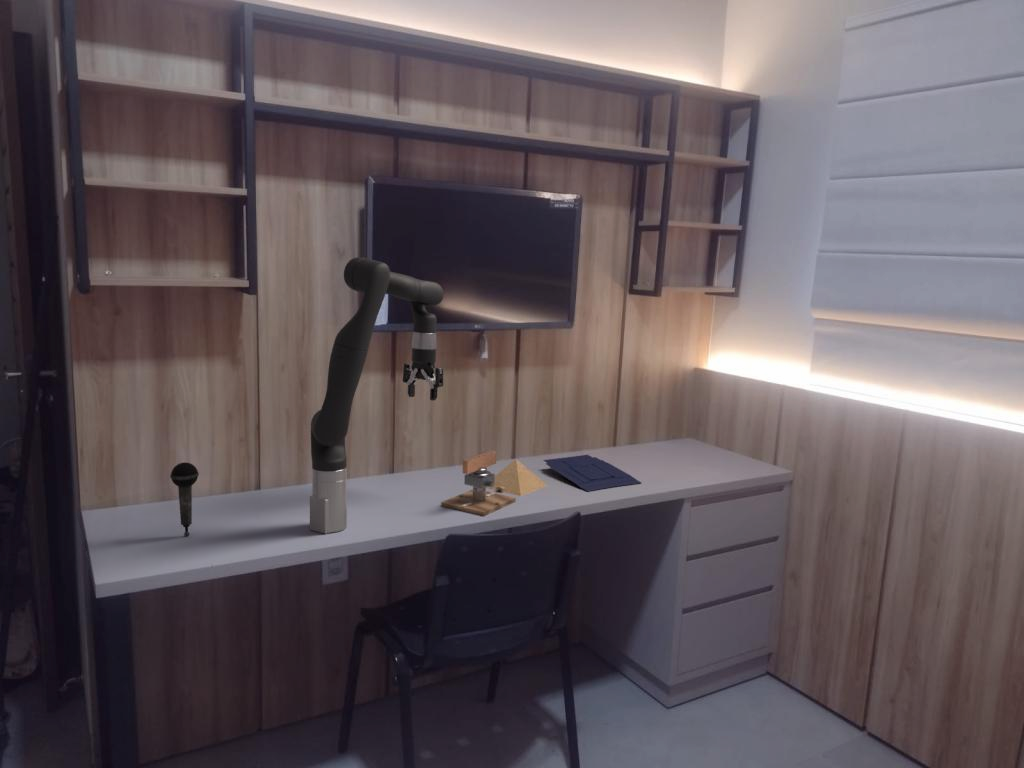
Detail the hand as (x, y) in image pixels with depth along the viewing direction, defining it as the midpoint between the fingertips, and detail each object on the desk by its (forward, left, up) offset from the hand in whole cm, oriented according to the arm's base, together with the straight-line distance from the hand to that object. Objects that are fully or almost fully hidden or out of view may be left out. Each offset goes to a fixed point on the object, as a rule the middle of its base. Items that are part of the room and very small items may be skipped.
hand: (422, 398), depth 233 cm
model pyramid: (+28, -18, -33) cm, 47 cm away
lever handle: (+5, -19, -25) cm, 32 cm away
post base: (+5, -19, -32) cm, 37 cm away
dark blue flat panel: (+55, -33, -32) cm, 72 cm away
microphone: (-65, +27, -32) cm, 77 cm away
